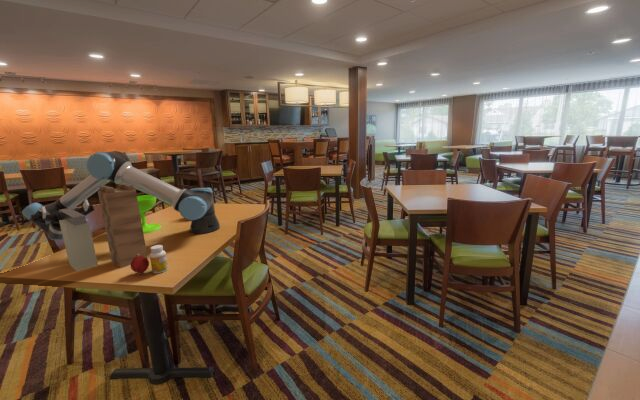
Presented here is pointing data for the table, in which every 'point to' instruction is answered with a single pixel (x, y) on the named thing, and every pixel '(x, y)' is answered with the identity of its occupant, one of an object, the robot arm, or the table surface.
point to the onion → (139, 264)
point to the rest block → (78, 245)
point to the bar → (72, 216)
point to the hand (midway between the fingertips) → (66, 205)
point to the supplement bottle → (158, 259)
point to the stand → (122, 223)
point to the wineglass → (144, 205)
